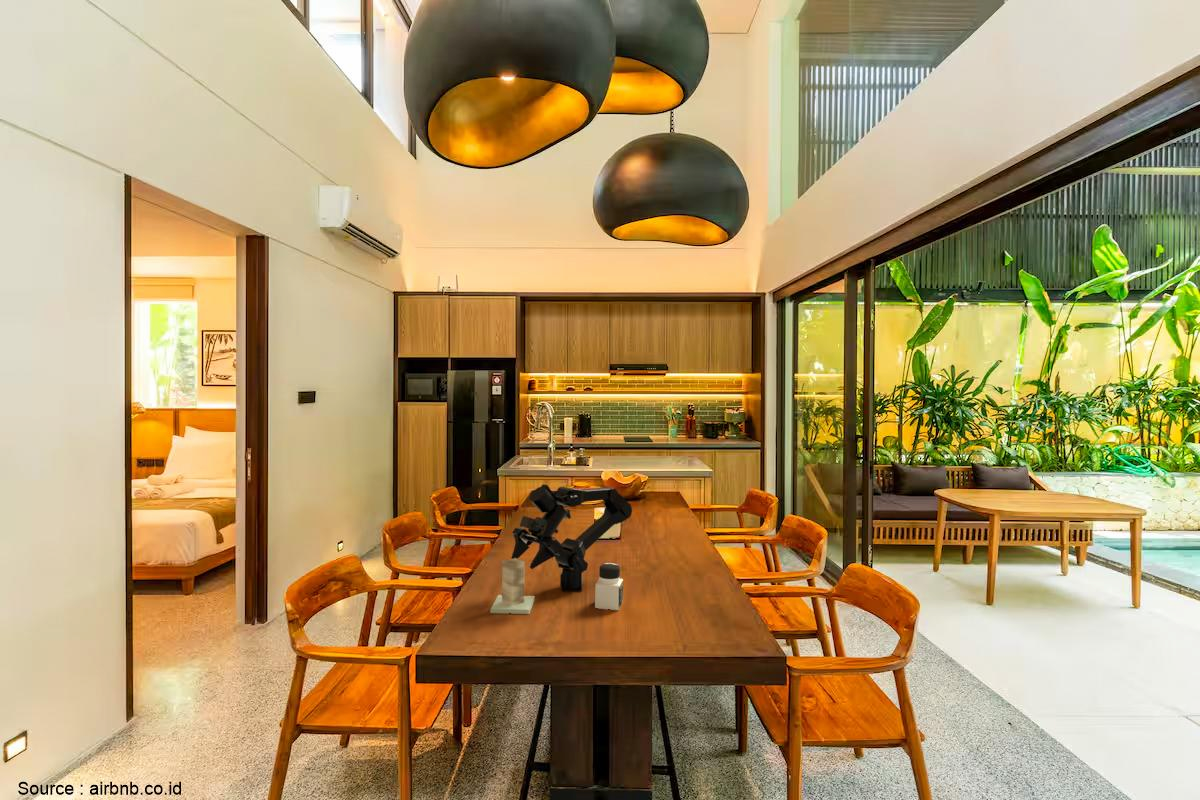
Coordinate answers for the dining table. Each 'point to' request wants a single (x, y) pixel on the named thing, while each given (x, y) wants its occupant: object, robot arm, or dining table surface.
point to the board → (516, 609)
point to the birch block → (513, 581)
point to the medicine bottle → (609, 587)
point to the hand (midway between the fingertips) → (521, 564)
